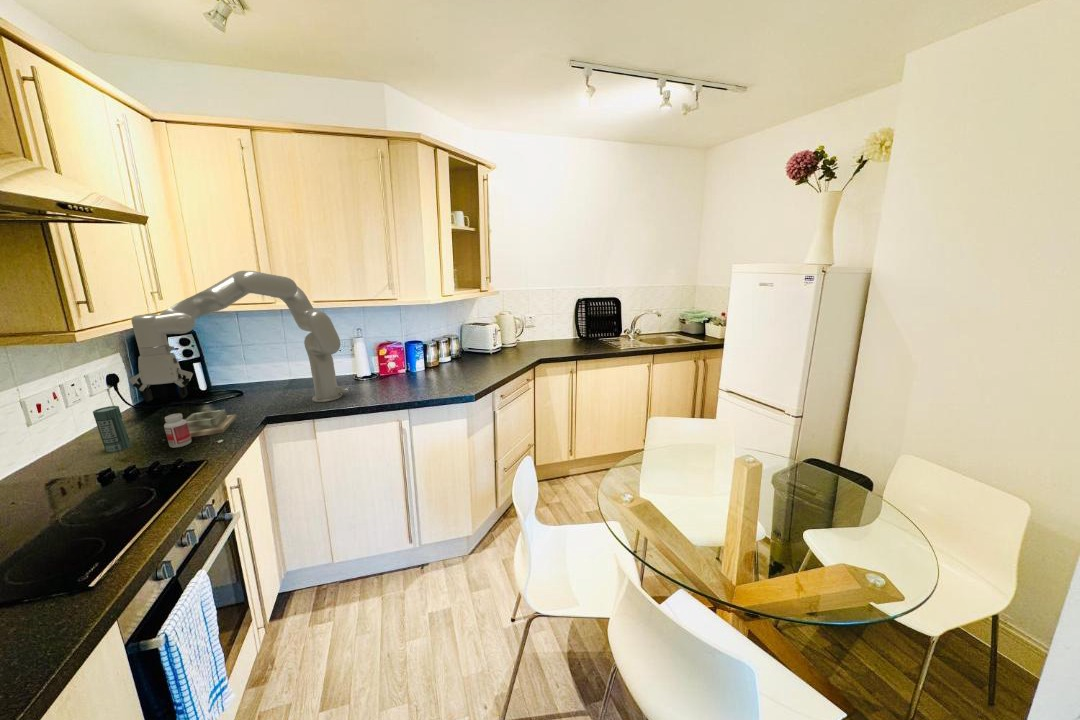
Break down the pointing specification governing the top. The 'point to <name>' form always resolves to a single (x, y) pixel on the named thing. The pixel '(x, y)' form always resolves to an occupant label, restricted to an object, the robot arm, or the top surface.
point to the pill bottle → (177, 431)
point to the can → (111, 428)
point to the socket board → (209, 422)
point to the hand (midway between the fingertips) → (166, 398)
